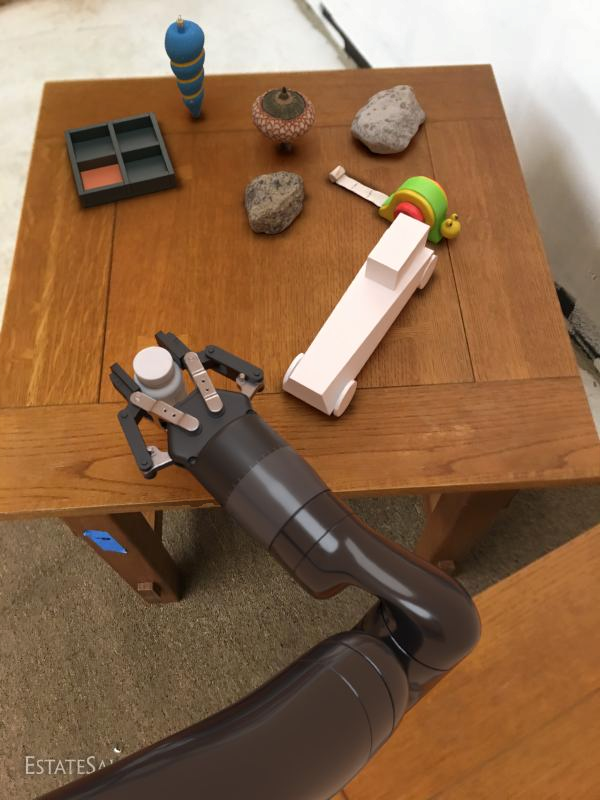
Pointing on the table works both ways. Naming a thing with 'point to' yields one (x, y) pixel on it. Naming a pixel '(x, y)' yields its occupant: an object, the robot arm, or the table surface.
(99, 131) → the compartment tray
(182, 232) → the table surface
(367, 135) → the decorative stone
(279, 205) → the rock
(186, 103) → the ornament
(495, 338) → the table surface
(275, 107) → the acorn
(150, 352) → the pill bottle
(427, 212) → the toy measuring tape
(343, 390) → the toy truck
